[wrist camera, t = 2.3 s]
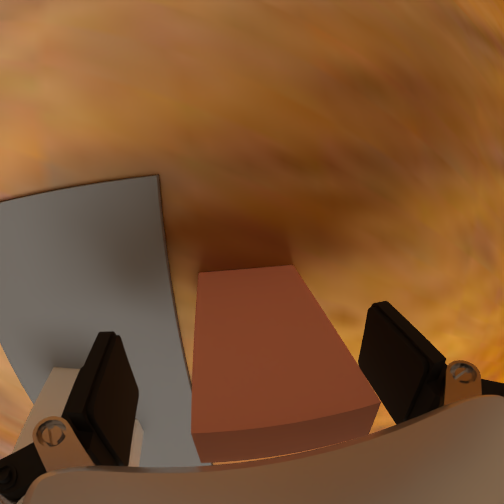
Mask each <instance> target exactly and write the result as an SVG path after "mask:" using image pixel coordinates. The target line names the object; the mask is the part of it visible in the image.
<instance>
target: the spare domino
mask: <svg viewBox="0 0 504 504" xmlns="http://www.w3.org/2000/svg"><path fill="white" fill-rule="evenodd" d="M380 403H381V401H380V400H379V398H378V396H377V395H376V393H375V392H374V390H373V388H372V387H371V385H370V384H369V382H368V380H367V379H366V377H365V376H364V374H363V372H362V371H361V369H360V368H359V366H358V364H357V363H356V361H355V360H354V358H353V356H352V355H351V353H350V352H349V350H348V349H347V347H346V345H345V344H344V342H343V341H342V339H341V338H340V336H339V335H338V333H337V331H336V330H335V328H334V327H333V325H332V324H331V322H330V321H329V319H328V317H327V316H326V314H325V313H324V311H323V310H322V308H321V307H320V305H319V304H318V302H317V301H316V299H315V298H314V296H313V294H312V293H311V291H310V290H309V288H308V287H307V285H306V284H305V282H304V281H303V279H302V278H301V276H300V275H299V273H298V272H297V270H296V269H295V267H294V266H293V265H284V266H273V267H261V268H250V269H238V270H225V271H213V272H200V273H199V274H198V286H197V300H196V315H195V331H194V350H193V372H192V403H191V435H192V438H193V441H194V444H195V447H196V450H197V453H198V456H199V459H200V461H201V463H213V462H228V461H239V460H249V459H258V458H265V457H272V456H279V455H285V454H291V453H296V452H302V451H307V450H311V449H316V448H321V447H325V446H329V445H333V444H337V443H341V442H345V441H349V440H352V439H356V438H359V437H363V436H366V435H368V434H369V432H370V430H371V427H372V425H373V422H374V419H375V417H376V414H377V412H378V409H379V406H380Z"/></svg>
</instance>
